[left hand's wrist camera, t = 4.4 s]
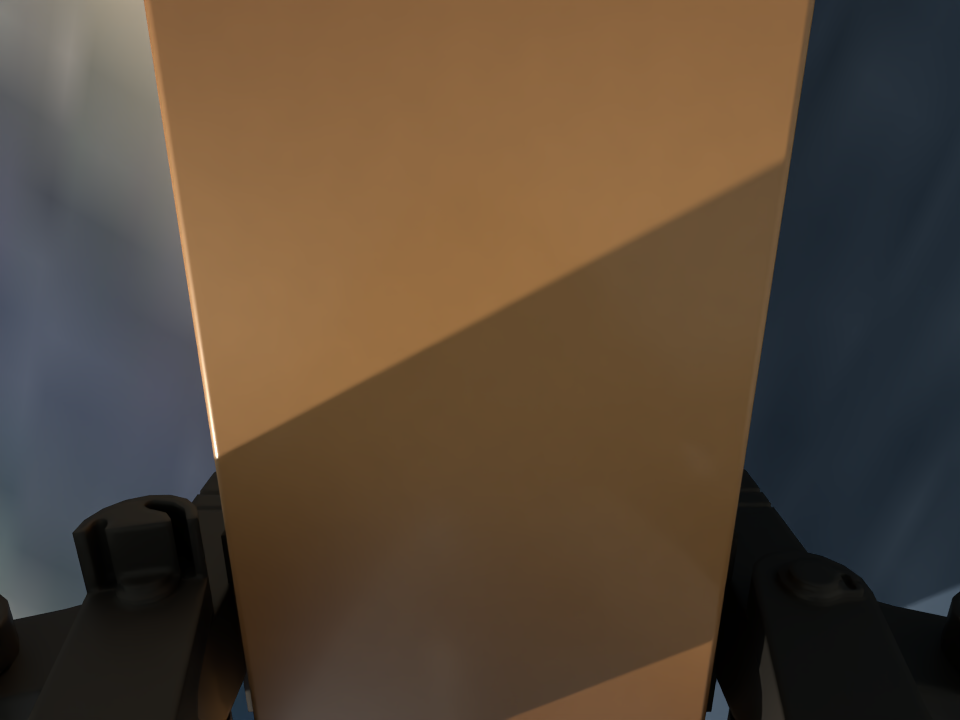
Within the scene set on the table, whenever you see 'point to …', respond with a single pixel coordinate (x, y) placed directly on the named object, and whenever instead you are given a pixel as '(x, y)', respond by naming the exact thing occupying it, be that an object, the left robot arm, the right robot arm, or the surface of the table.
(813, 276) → the table surface
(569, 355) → the plank
